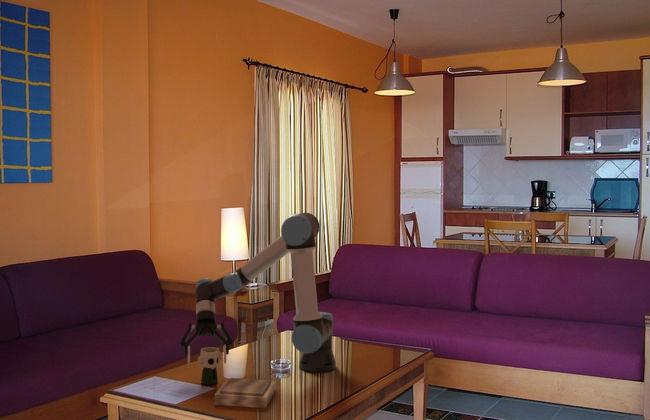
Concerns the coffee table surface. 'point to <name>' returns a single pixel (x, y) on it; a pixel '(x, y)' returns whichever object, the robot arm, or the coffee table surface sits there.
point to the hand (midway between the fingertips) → (207, 362)
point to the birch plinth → (245, 392)
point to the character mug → (209, 364)
